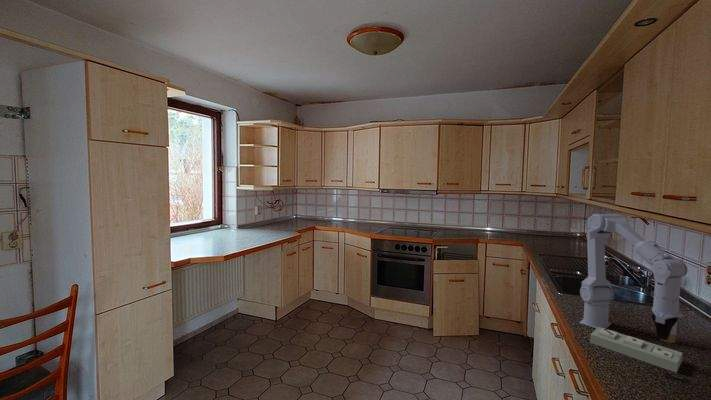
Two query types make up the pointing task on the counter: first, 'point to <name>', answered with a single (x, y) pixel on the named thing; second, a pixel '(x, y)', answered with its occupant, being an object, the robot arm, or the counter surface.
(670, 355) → the tile two pips
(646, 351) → the button board
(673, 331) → the sprinkles bottle
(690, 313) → the counter surface
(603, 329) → the tile three pips
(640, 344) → the tile one pip
